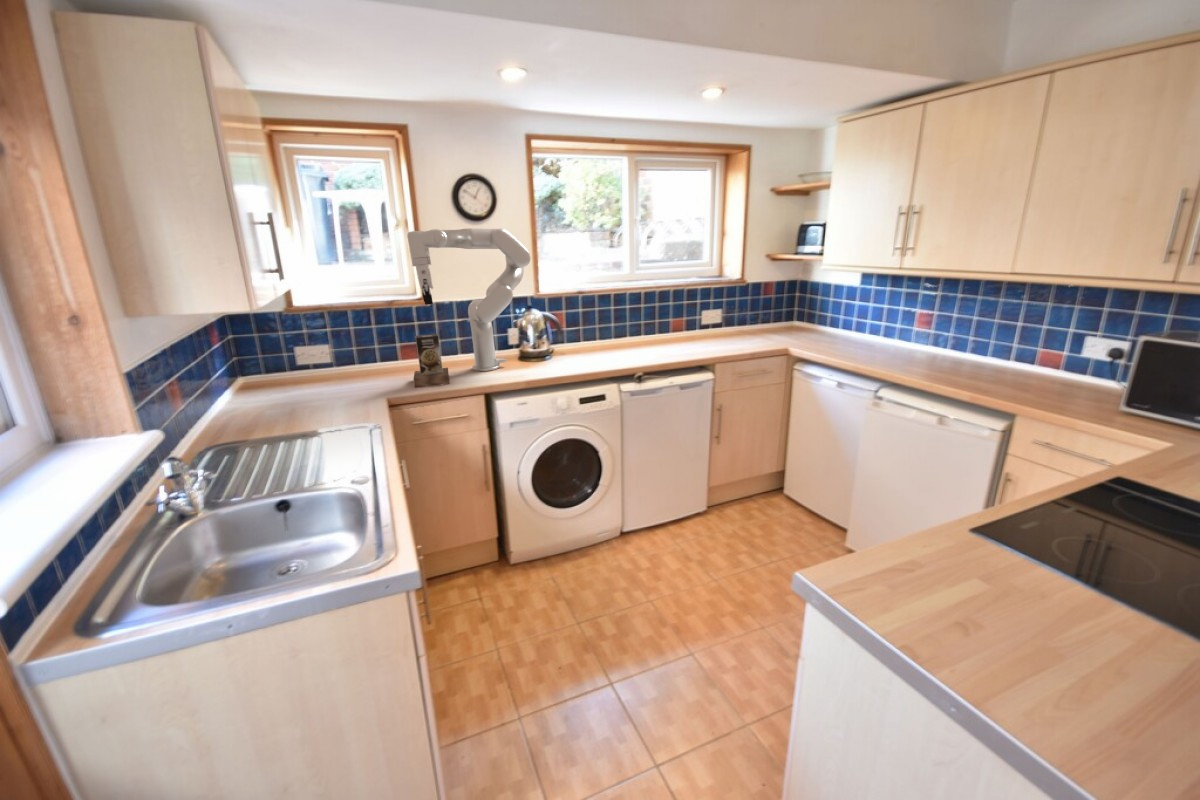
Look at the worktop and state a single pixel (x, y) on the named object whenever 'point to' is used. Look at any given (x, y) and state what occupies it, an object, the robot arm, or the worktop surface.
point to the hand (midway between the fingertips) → (428, 302)
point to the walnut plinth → (431, 379)
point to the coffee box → (429, 354)
